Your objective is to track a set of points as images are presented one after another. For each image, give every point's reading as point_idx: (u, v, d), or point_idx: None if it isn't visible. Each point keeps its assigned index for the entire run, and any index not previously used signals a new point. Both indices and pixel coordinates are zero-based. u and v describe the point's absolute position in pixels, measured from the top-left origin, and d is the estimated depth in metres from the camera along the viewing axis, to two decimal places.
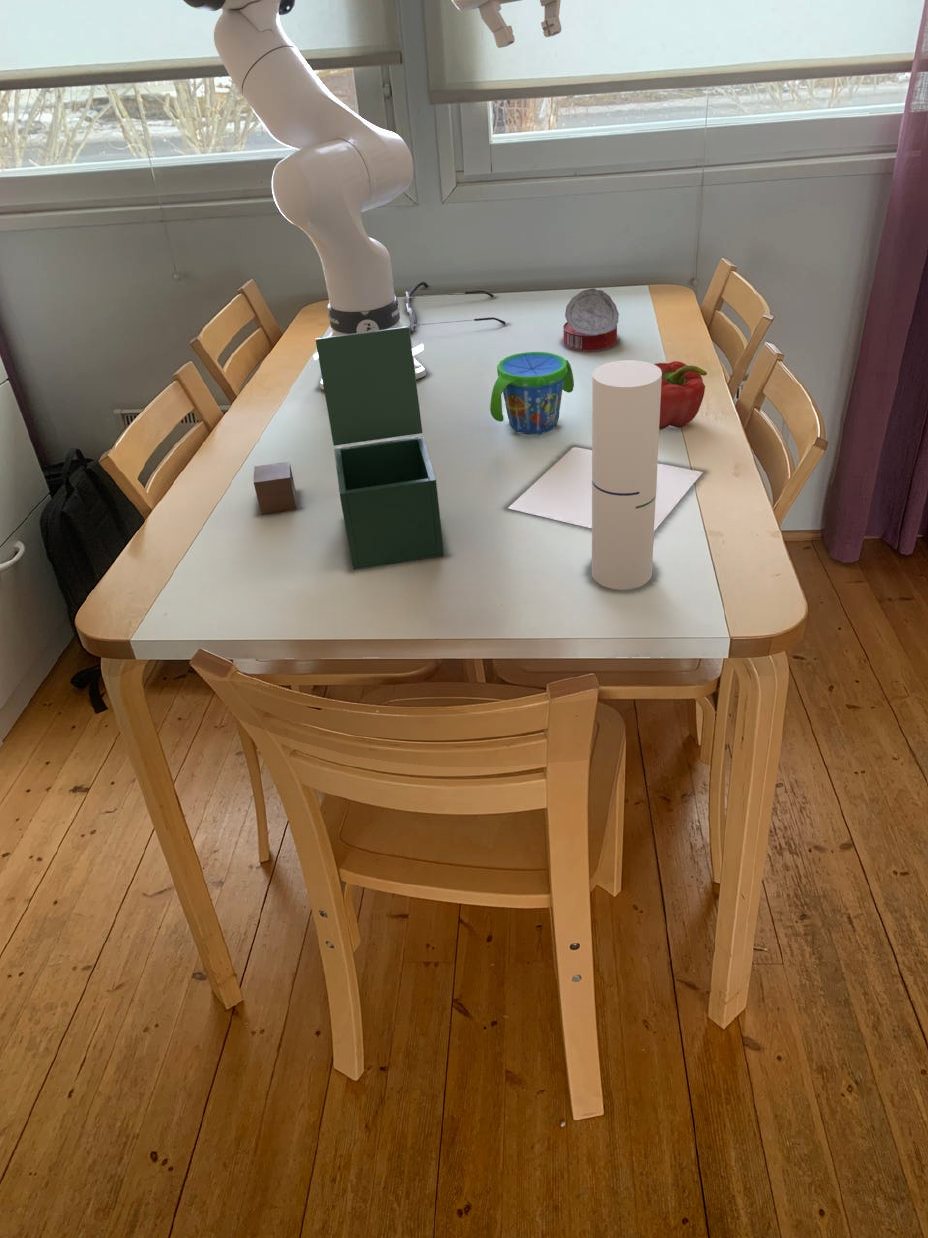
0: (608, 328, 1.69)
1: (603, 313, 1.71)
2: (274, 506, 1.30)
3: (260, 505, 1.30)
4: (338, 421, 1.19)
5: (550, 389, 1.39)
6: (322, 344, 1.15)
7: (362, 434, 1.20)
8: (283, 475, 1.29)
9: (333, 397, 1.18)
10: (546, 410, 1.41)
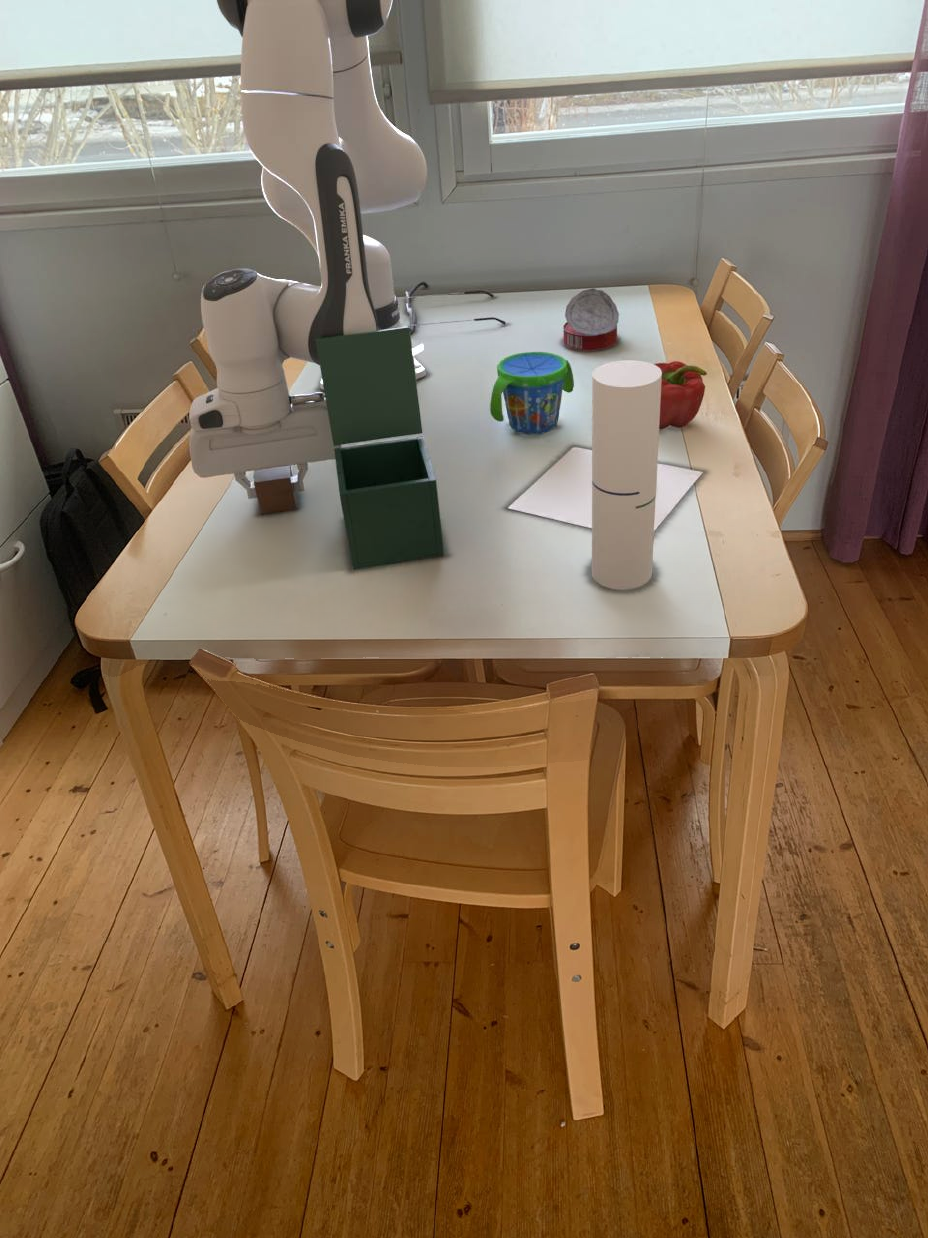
0: (608, 328, 1.69)
1: (603, 313, 1.71)
2: (274, 506, 1.30)
3: (260, 505, 1.30)
4: (338, 421, 1.19)
5: (550, 389, 1.39)
6: (322, 344, 1.15)
7: (362, 434, 1.20)
8: (283, 475, 1.29)
9: (333, 397, 1.18)
10: (546, 410, 1.41)
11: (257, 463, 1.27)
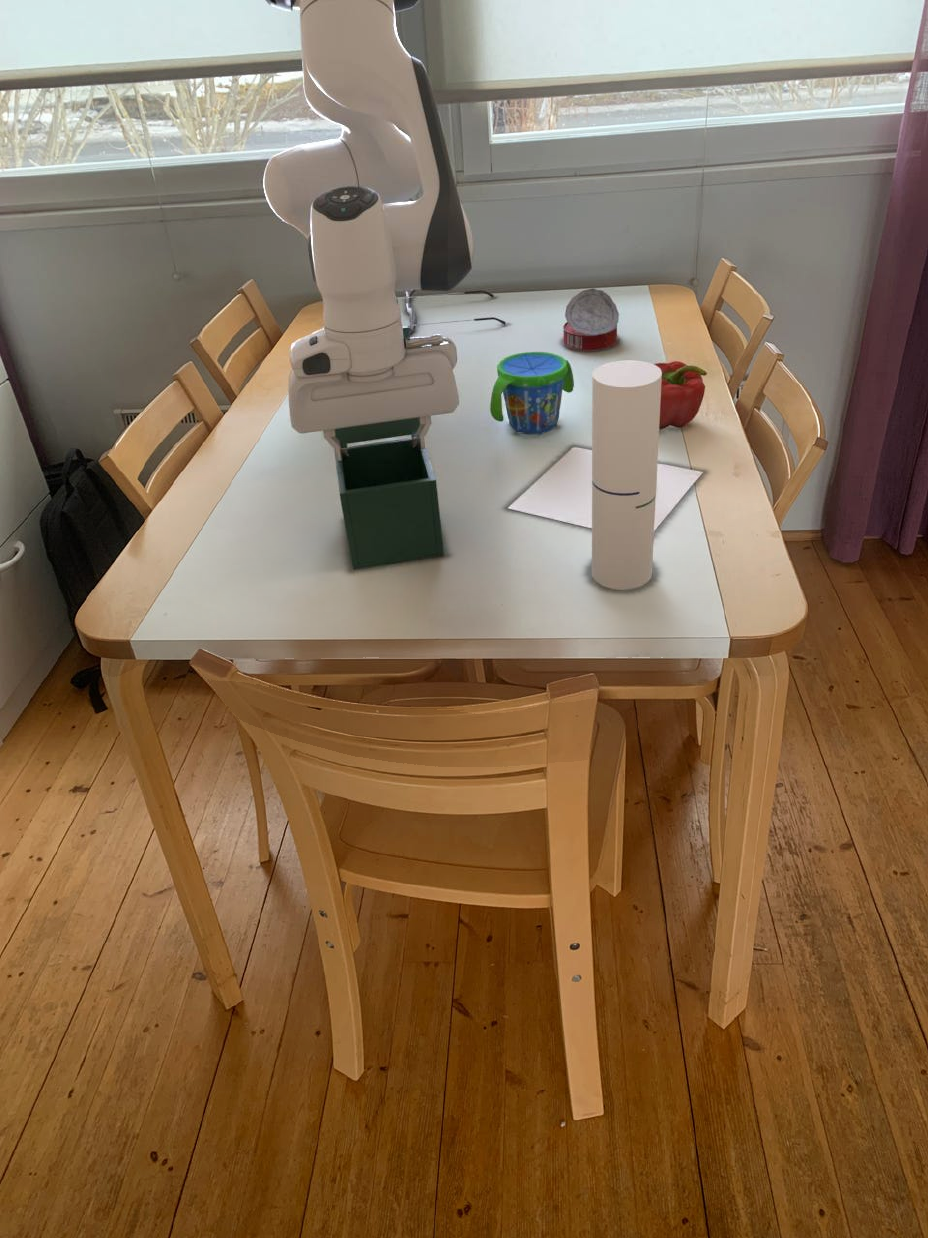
0: (608, 328, 1.69)
1: (603, 313, 1.71)
2: None
3: None
4: None
5: (550, 389, 1.39)
6: None
7: (362, 434, 1.20)
8: None
9: None
10: (546, 410, 1.41)
11: (364, 417, 1.11)
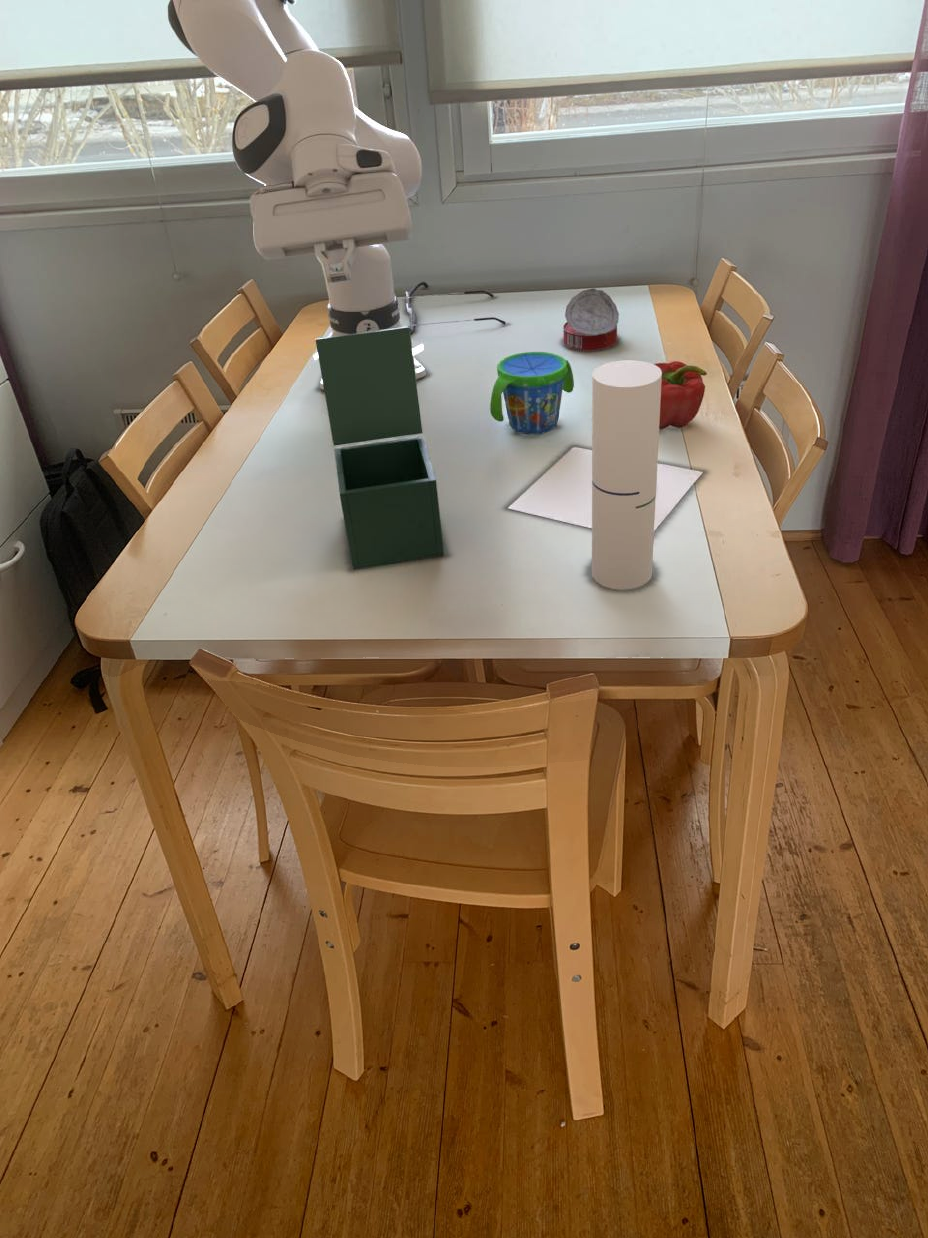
0: (608, 328, 1.69)
1: (603, 313, 1.71)
2: None
3: None
4: (338, 421, 1.19)
5: (550, 389, 1.39)
6: (322, 344, 1.15)
7: (362, 434, 1.20)
8: None
9: (333, 397, 1.18)
10: (546, 410, 1.41)
11: None
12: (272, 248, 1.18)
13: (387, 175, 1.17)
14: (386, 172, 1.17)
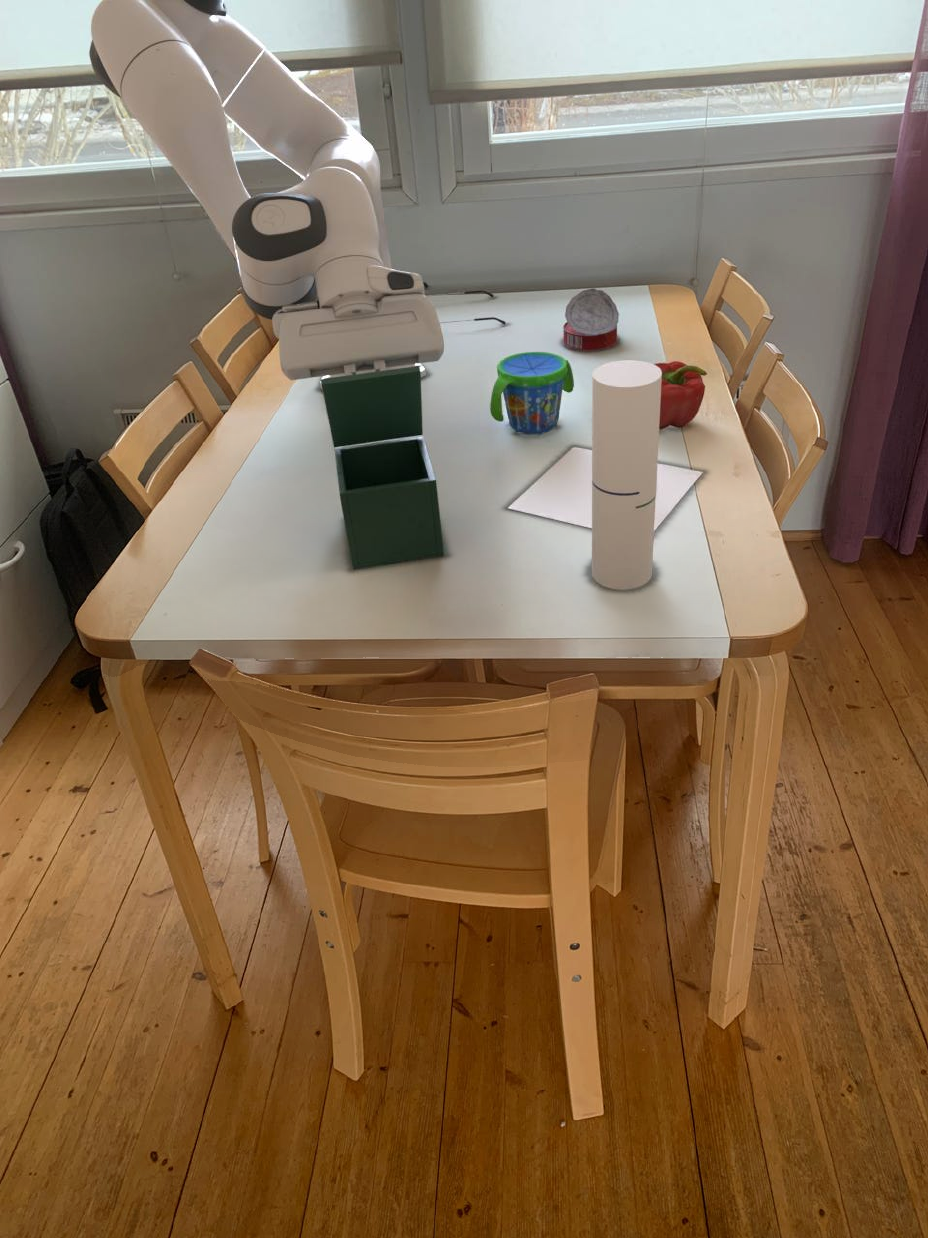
0: (608, 328, 1.69)
1: (603, 313, 1.71)
2: None
3: None
4: (340, 433, 1.18)
5: (550, 389, 1.39)
6: (328, 387, 1.09)
7: (363, 439, 1.20)
8: None
9: (336, 419, 1.15)
10: (546, 410, 1.41)
11: None
12: (299, 369, 1.13)
13: (419, 297, 1.14)
14: (418, 294, 1.14)
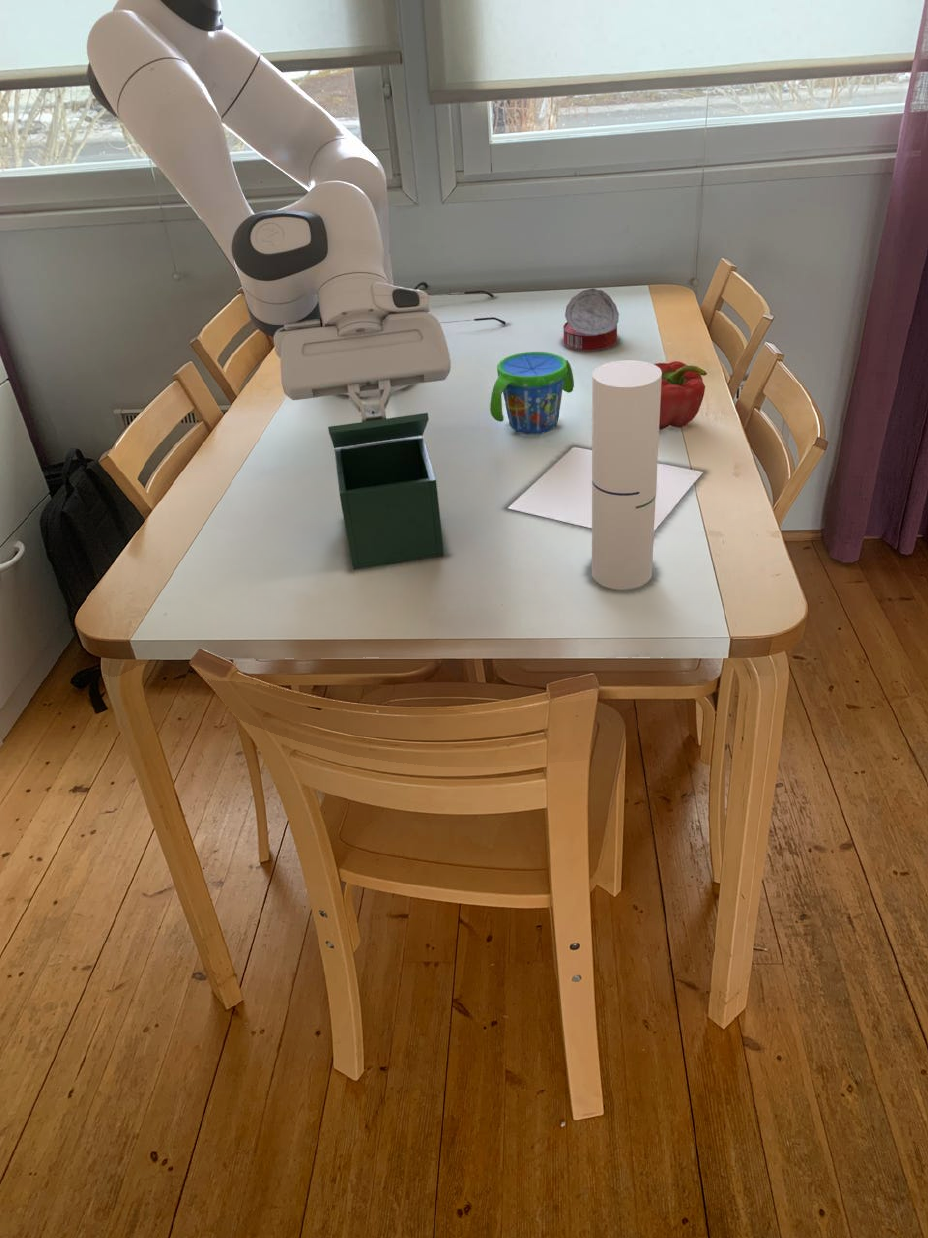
0: (608, 328, 1.69)
1: (603, 313, 1.71)
2: None
3: None
4: (341, 443, 1.18)
5: (550, 389, 1.39)
6: (335, 433, 1.08)
7: (364, 443, 1.20)
8: None
9: (340, 440, 1.15)
10: (546, 410, 1.41)
11: None
12: (302, 389, 1.10)
13: (425, 315, 1.11)
14: (424, 312, 1.11)
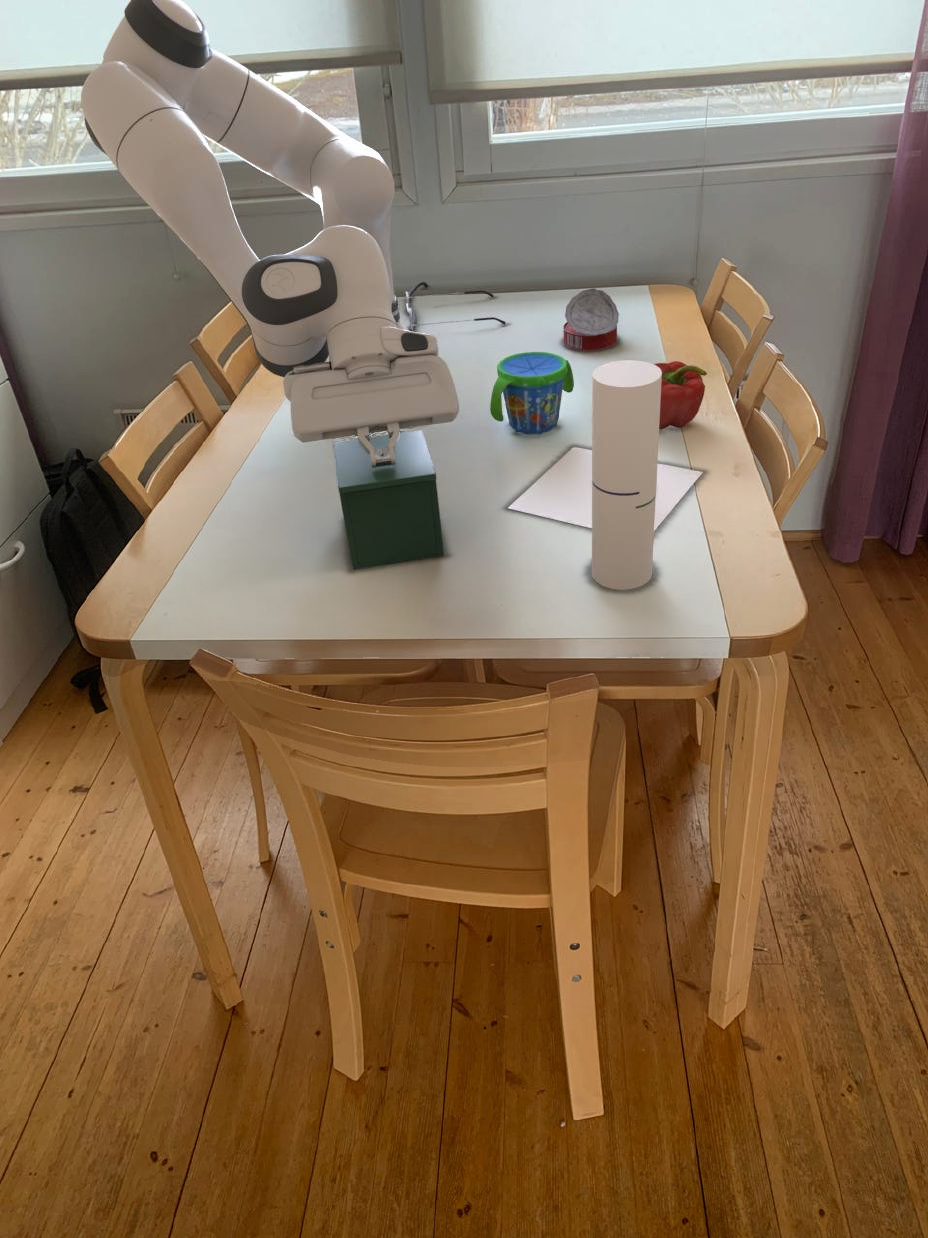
0: (608, 328, 1.69)
1: (603, 313, 1.71)
2: None
3: None
4: None
5: (550, 389, 1.39)
6: None
7: None
8: None
9: None
10: (546, 410, 1.41)
11: None
12: (312, 433, 1.11)
13: (433, 359, 1.12)
14: (432, 355, 1.12)
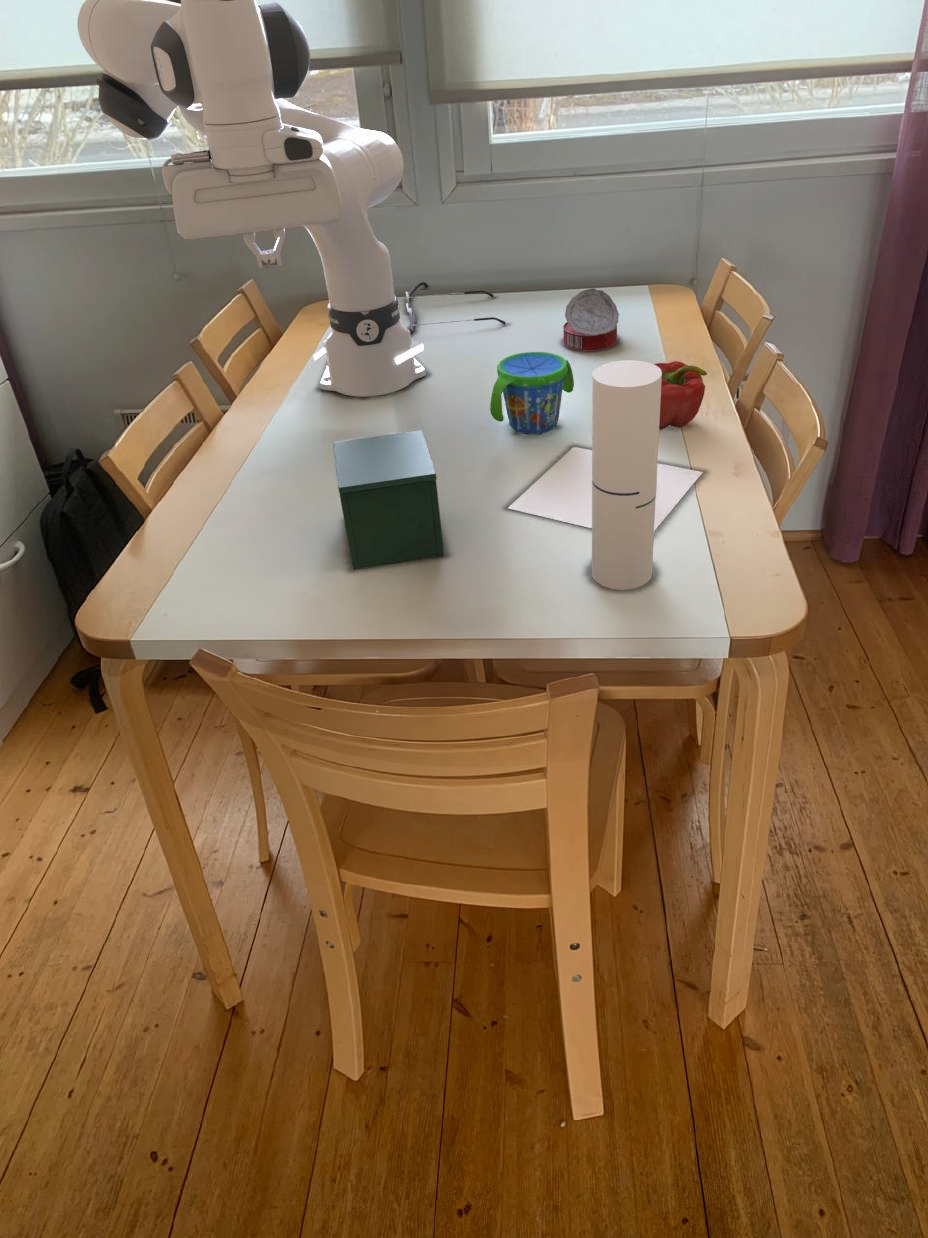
0: (608, 328, 1.69)
1: (603, 313, 1.71)
2: None
3: None
4: None
5: (550, 389, 1.39)
6: None
7: None
8: None
9: None
10: (546, 410, 1.41)
11: None
12: None
13: (318, 166, 1.10)
14: (317, 161, 1.10)
